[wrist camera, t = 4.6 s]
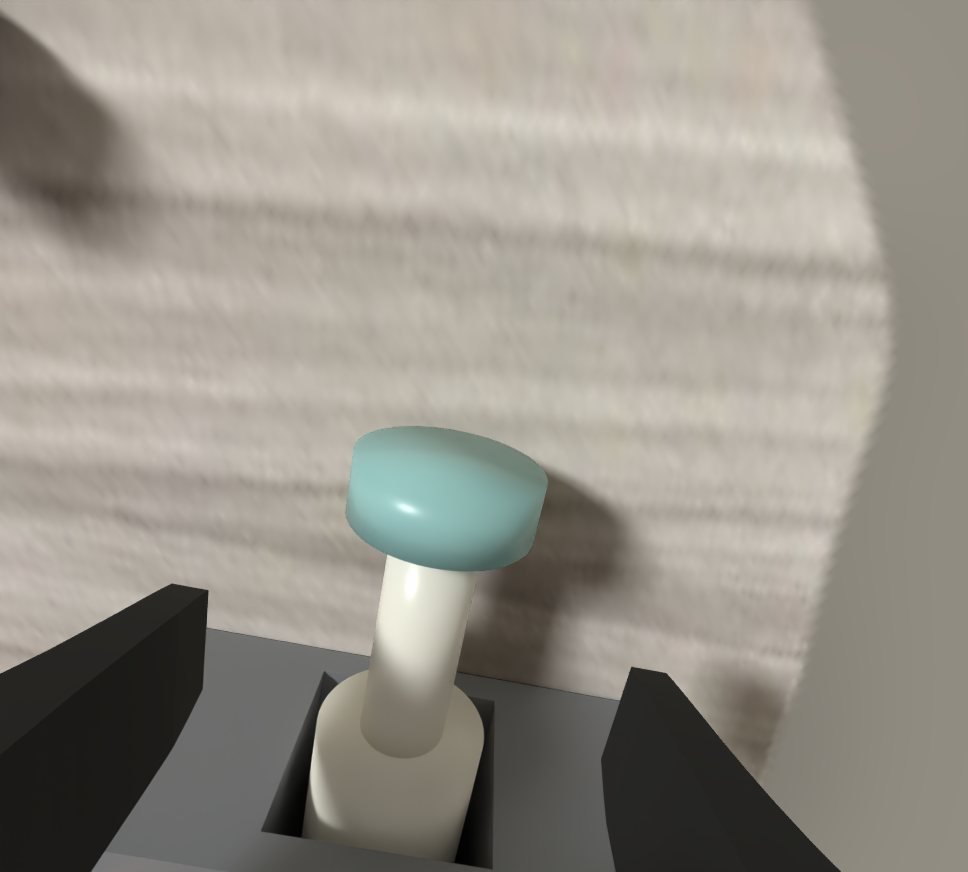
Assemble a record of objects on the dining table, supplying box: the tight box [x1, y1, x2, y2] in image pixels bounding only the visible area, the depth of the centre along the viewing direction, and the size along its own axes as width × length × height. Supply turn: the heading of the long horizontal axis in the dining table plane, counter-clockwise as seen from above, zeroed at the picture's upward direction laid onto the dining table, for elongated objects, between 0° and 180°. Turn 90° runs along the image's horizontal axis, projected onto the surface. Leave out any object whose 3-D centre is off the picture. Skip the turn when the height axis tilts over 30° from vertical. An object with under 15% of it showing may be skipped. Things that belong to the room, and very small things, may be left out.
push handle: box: [301, 426, 548, 863], centre depth 14 cm, size 14×4×4 cm, turn 169°
